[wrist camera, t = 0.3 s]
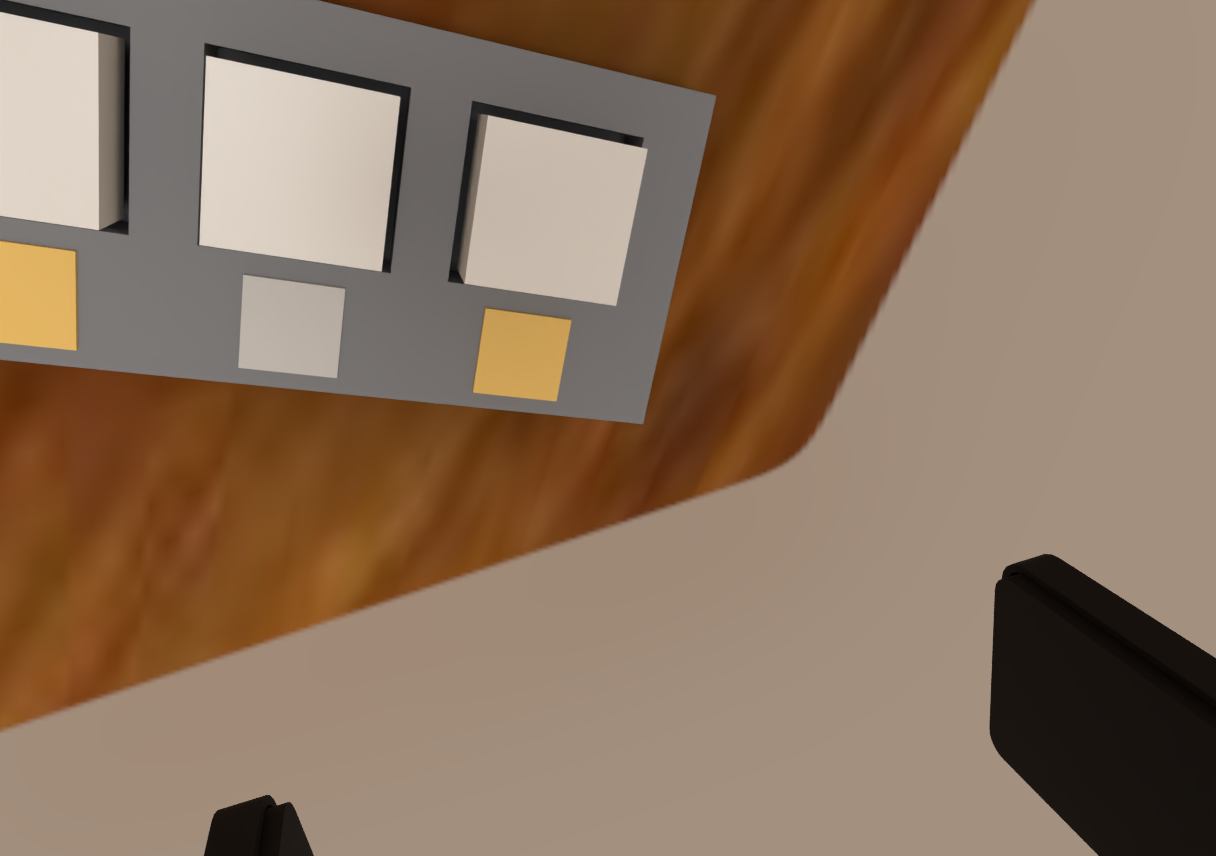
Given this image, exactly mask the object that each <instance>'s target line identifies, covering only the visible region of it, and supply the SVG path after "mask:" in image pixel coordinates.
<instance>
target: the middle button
mask: <svg viewBox="0 0 1216 856" xmlns="http://www.w3.org/2000/svg"><path fill="white" fill-rule="evenodd" d="M399 106H400V97H399V96H395V95H390V94H385V93H380V92H376V91H371V90H366V89H362V88H357V87H352V86H347V85H343V84H338V83H333V82H328V81H324V80H319V79H314V78H310V77H305V76H300V75H295V74H291V73H286V72H281V71H277V70H272V69H267V68H262V67H258V66H253V65H248V64H243V63H239V62H234V61H229V60H225V59H220V58H215V57H210V56H206V75H205V103H204V130H203V158H202V186H201V214H200V242H199V245H203V246H210V247H216V248H223V249H230V250H237V251H244V252H251V253H257V254H264V255H271V256H278V257H285V258H292V259H298V260H305V261H312V262H319V263H326V264H333V265H339V266H346V267H353V268H360V269H367V270H374V271H380V272H382V264H383V254H384V245H385V236H386V226H387V217H388V208H389V199H390V189H391V180H392V171H393V162H394V152H395V143H396V134H397V124H398V115H399Z"/></svg>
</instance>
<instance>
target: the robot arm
mask: <svg viewBox="0 0 1216 856" xmlns="http://www.w3.org/2000/svg"><path fill="white" fill-rule="evenodd" d="M992 654H993V655H992V678H991V704H990V736H991V739H992V742H993V744H994V746H995V748H996V750H997V751H998V753H999V754H1000V756H1001V757H1002V758H1003V759H1004V760H1005V761H1006V762H1007V763H1008V764H1009V765H1010V766H1011V767H1012V768H1013V769H1014V770H1015V771H1016V772H1017V773H1018V774H1019V775H1020V776H1021V777H1022V778H1023V779H1024V781H1025V782H1026V783H1027V784H1029V786H1030V787H1031V788H1032V789H1033V790H1034V791H1035V792H1036V793H1038V795H1039V796H1040V797H1041V798H1042V799H1043V800H1044V801H1045V802H1046V803H1047V804H1048V805H1049V806H1050V807H1051V808H1052V809H1053V810H1054V811H1055V812H1056V813H1057V814H1058V815H1059V816H1060V817H1061V818H1062V819H1063V820H1064V821H1065V822H1066V823H1067V824H1068V825H1069V826H1070V827H1071V828H1072V829H1073V830H1074V831H1075V832H1076V833H1077V834H1078V835H1079V836H1080V837H1081V838H1082V839H1083V840H1084V841H1085V842H1086V843H1087V844H1088V845H1089V846H1090V847H1091V848H1092V849H1093V850H1094V851H1095V852H1096V853H1097V854H1098V856H1216V658H1214V657H1213V656H1211V655H1210V654H1208V653H1207V652H1205V651H1204V650H1202V649H1201V648H1199V647H1197V646H1196V645H1194V644H1193V643H1191V642H1190V641H1188V640H1186V639H1185V638H1183V637H1182V636H1180V635H1179V634H1177V633H1176V632H1174V631H1172V630H1171V629H1169V628H1167V627H1166V626H1164V625H1163V624H1161V623H1160V622H1158V621H1157V620H1155V619H1154V618H1152V617H1151V616H1149V615H1147V614H1146V613H1144V612H1143V611H1141V610H1140V609H1138V608H1136V607H1135V606H1133V605H1132V604H1130V603H1128V602H1127V601H1125V600H1124V599H1122V598H1121V597H1119V596H1118V595H1116V594H1114V593H1113V592H1111V591H1110V590H1108V589H1107V588H1105V587H1104V586H1102V585H1100V584H1099V583H1097V582H1096V581H1094V580H1093V579H1091V578H1090V577H1088V576H1086V575H1085V574H1083V573H1082V572H1080V571H1079V570H1077V569H1075V568H1074V567H1072V566H1071V565H1069V564H1068V563H1066V562H1064V561H1063V560H1061V559H1060V558H1058V557H1056V556H1054V555H1051V554H1043V555H1040V556H1037V557H1034V558H1031V559H1028V560H1024V561H1021V562H1018V563H1015V564H1012V565H1009V566H1007V567H1006V568H1005V570H1004V571H1003V575H1002V579H1001V580H999V581H998V582H997V584H996V587H995V604H994V629H993V653H992ZM204 856H314V855H313V853H312V850H311V848H310V845H309V843H308V840H307V838H306V835H305V833H304V831H303V828H302V825H301V823H300V820H299V818H298V816H297V813H296V811H295V809H294V807H293V805H292V804H291V803H290V802H287V803H284V804H281V805H276V803H275V801H274V799H273V798H272V797H271V796H270V795H265V796H262V797H259V798H256V799H252V800H249V801H246V802H243V803H239V804H237V805H233V806H230V807H227V808H223V809H220V810H218V811H217V812H216V813H215V814H214V817H213V819H212V822H211V827H210V831H209V836H208V840H207V844H206V849H205V853H204Z"/></svg>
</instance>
